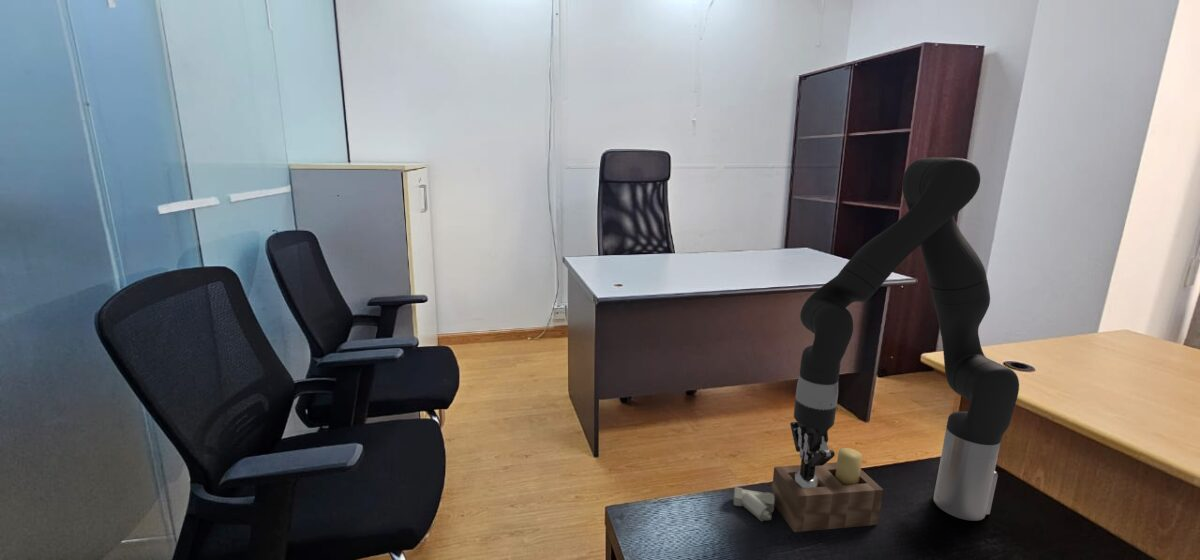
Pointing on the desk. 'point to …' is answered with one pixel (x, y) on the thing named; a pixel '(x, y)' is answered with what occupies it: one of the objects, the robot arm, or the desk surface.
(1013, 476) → the desk surface
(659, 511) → the desk surface
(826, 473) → the socket block
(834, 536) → the desk surface
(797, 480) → the steel peg
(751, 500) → the pipe fitting
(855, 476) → the mustard peg
